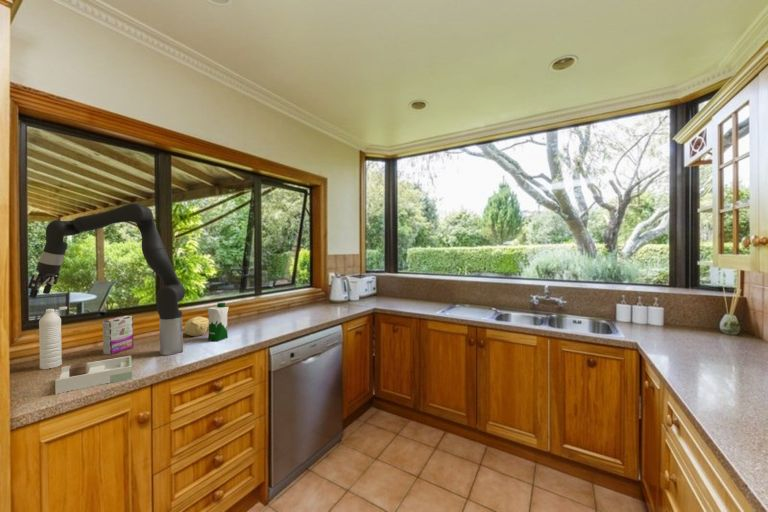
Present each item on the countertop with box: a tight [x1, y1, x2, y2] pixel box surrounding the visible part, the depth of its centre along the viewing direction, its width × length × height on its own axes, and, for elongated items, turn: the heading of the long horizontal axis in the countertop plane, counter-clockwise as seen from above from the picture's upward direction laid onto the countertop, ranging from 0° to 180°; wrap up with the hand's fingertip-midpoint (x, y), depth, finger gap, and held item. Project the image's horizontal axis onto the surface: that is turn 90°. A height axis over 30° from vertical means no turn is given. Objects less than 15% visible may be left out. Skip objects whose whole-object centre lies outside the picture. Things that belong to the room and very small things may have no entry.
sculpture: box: [183, 315, 209, 337], centre depth 183 cm, size 12×12×11 cm
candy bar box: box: [102, 315, 134, 356], centre depth 154 cm, size 11×5×16 cm, turn 168°
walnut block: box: [69, 362, 88, 377], centre depth 117 cm, size 4×4×4 cm
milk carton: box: [206, 302, 230, 342], centre depth 176 cm, size 9×9×20 cm
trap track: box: [54, 355, 133, 395], centre depth 122 cm, size 21×15×5 cm
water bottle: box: [38, 306, 68, 370], centre depth 134 cm, size 9×6×25 cm
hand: (39, 295), depth 143 cm, fingers open, 8 cm apart
